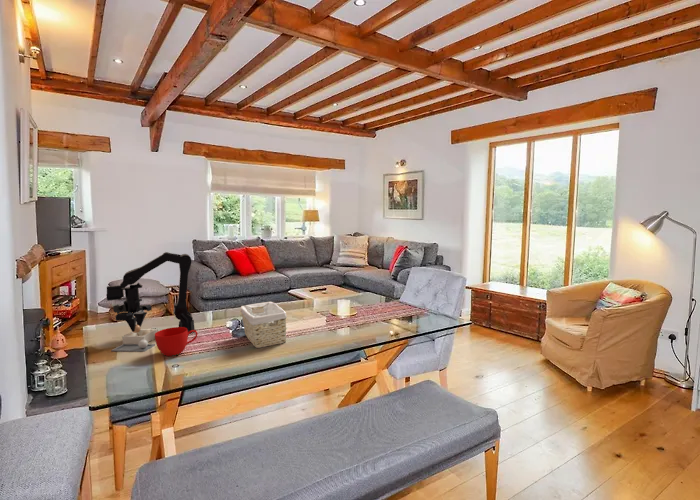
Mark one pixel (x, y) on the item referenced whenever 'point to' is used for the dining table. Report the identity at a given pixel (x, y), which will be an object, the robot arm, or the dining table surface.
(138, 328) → the orange tan ball
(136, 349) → the slate tray
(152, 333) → the stoneware dish
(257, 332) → the storage basket
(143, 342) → the glossy white ball
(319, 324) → the dining table surface
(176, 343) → the ceramic cup
